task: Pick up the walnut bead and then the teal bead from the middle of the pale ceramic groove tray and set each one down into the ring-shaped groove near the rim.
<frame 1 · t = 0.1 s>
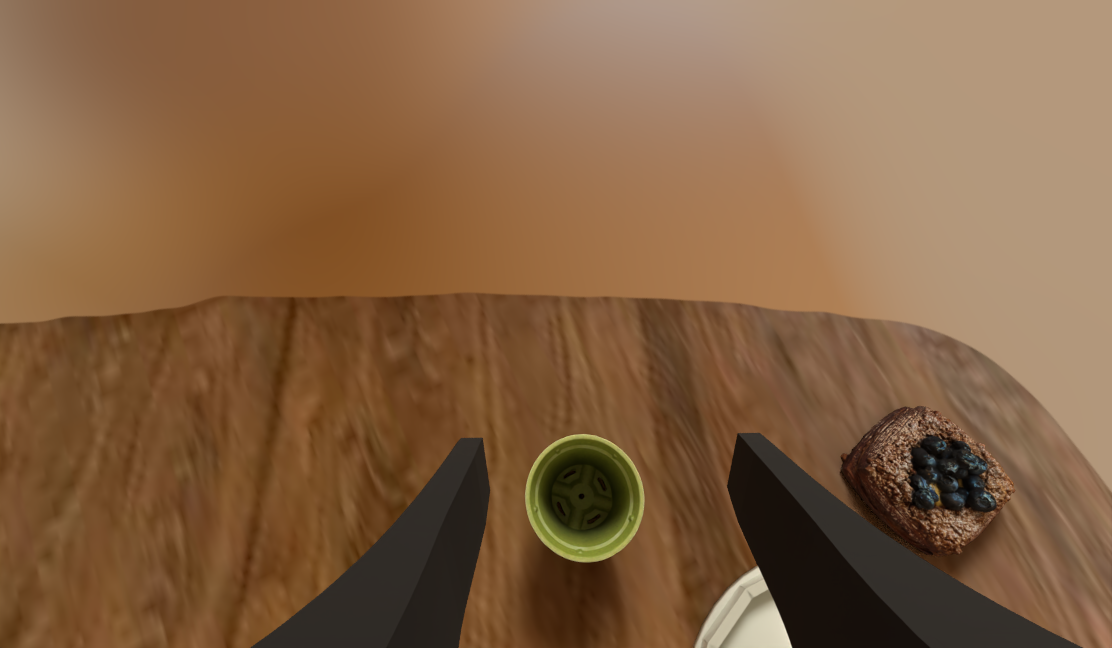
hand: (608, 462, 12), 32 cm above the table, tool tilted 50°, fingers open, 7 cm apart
pastry: (908, 476, 41), on the table
plant pot: (582, 495, 42), on the table
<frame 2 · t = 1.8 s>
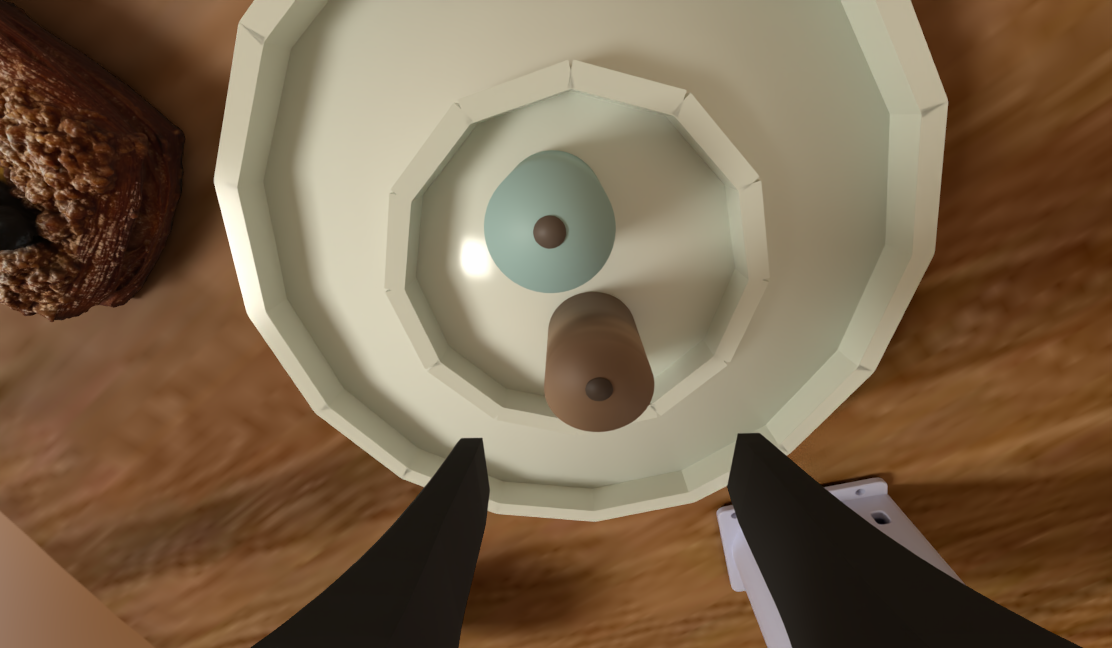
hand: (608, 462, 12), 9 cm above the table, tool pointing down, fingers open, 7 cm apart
pastry: (43, 148, 18), on the table
teal bead: (553, 204, 17), point 1 cm above the table, touching groove tray
walnut bead: (591, 332, 19), point 1 cm above the table, touching groove tray
groove tray: (573, 265, 19), on the table
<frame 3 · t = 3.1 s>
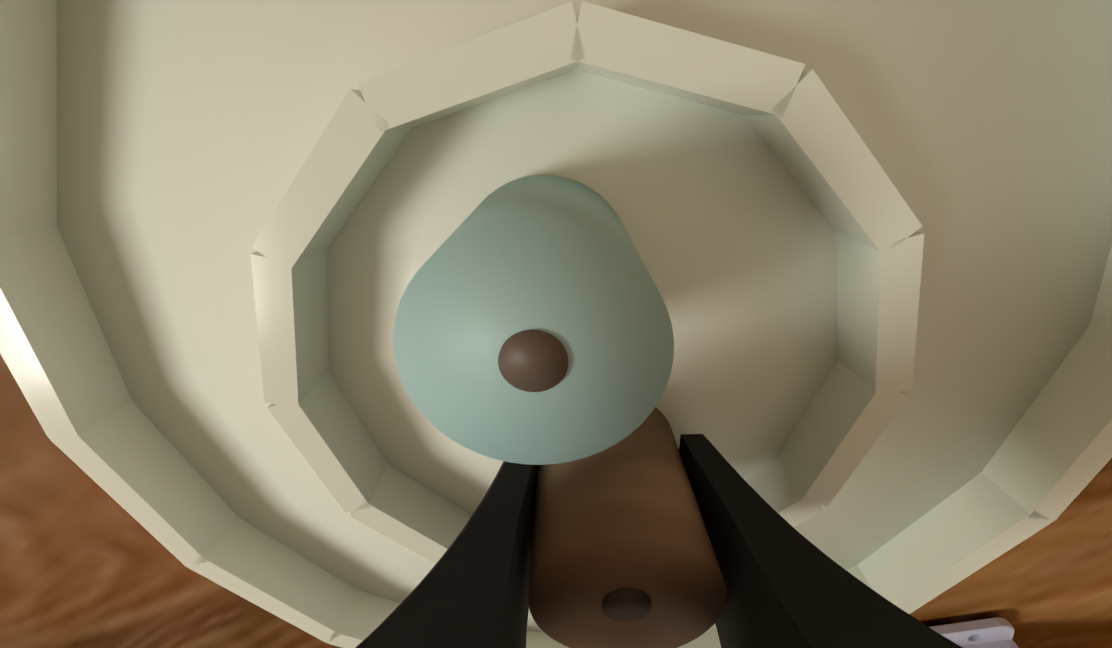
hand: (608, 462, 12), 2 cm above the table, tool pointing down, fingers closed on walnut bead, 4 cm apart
teal bead: (545, 262, 10), point 1 cm above the table, touching groove tray
walnut bead: (606, 447, 13), point 1 cm above the table, touching gripper, groove tray
groove tray: (577, 347, 12), on the table
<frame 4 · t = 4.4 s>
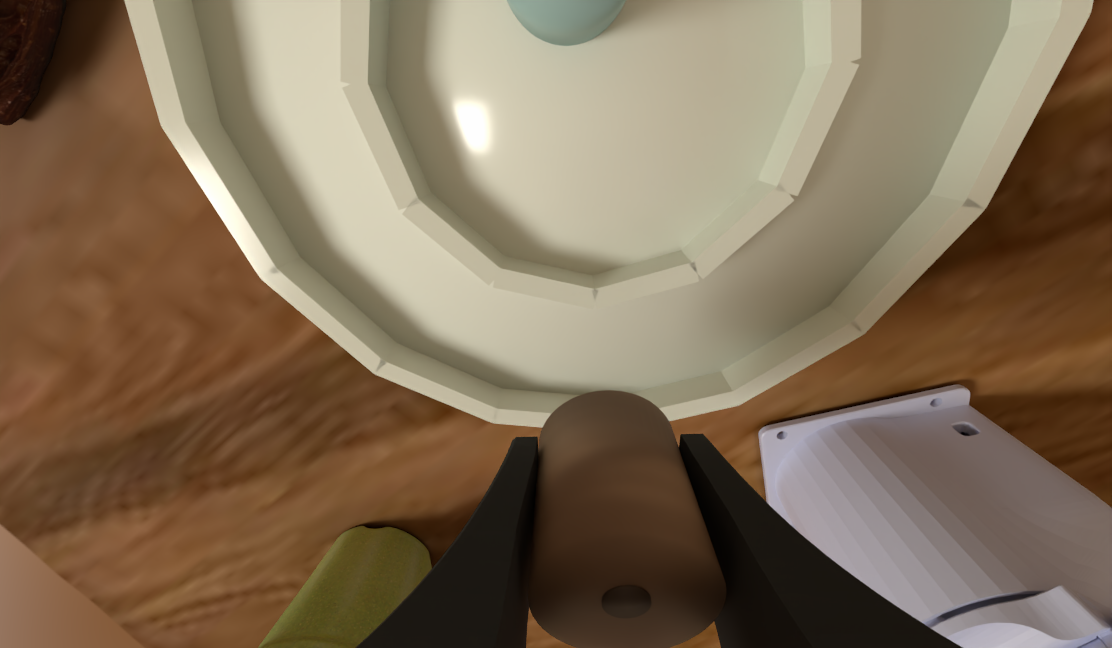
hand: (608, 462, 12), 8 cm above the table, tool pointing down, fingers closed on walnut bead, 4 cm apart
walnut bead: (605, 445, 13), point 7 cm above the table, touching gripper
plant pot: (384, 552, 26), on the table
groove tray: (590, 79, 15), on the table
when the fingers open (3 cm above the table, at t = 5.7 s): walnut bead drops 1 cm, resting on groove tray.
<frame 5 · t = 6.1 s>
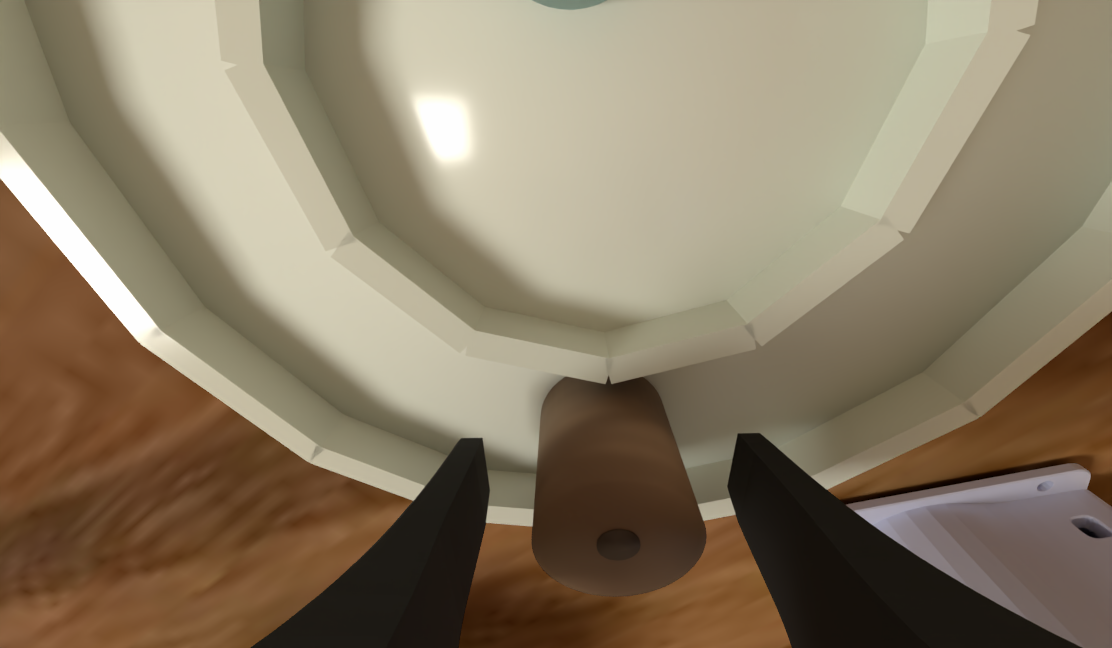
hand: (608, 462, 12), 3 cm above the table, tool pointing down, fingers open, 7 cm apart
walnut bead: (601, 418, 14), point 1 cm above the table, touching groove tray
groove tray: (604, 62, 10), on the table
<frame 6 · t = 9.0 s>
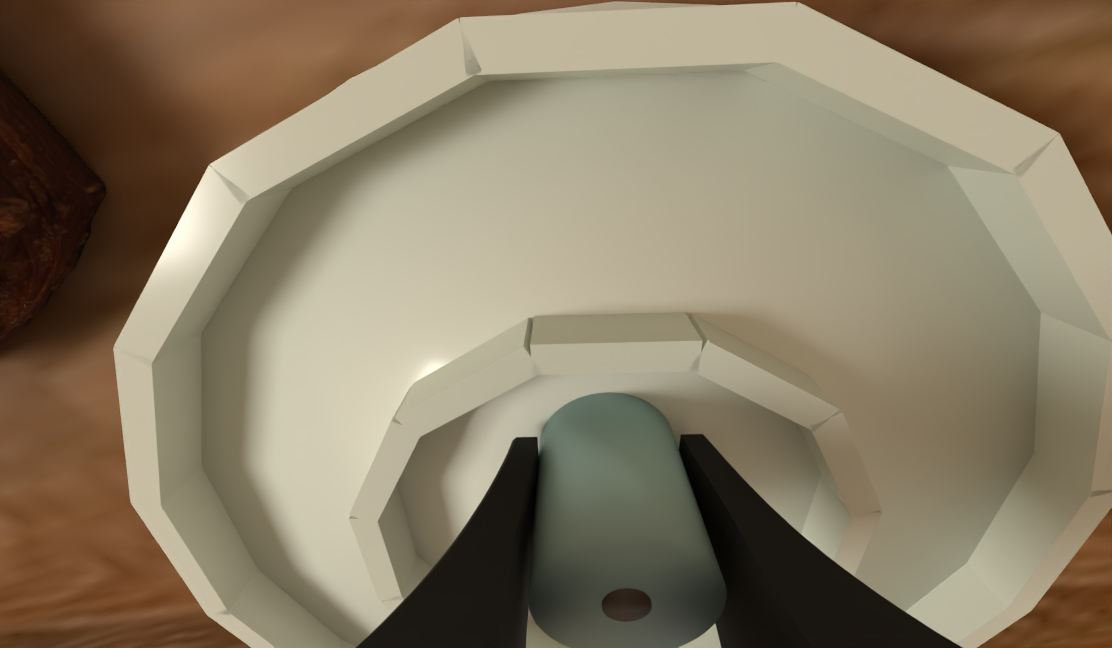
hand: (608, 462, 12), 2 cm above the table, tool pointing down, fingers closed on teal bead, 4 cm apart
teal bead: (606, 447, 13), point 1 cm above the table, touching gripper, groove tray
groove tray: (602, 492, 15), on the table
when the fingers open (3 cm above the table, at t = 11.7 s): teal bead drops 1 cm, resting on groove tray.
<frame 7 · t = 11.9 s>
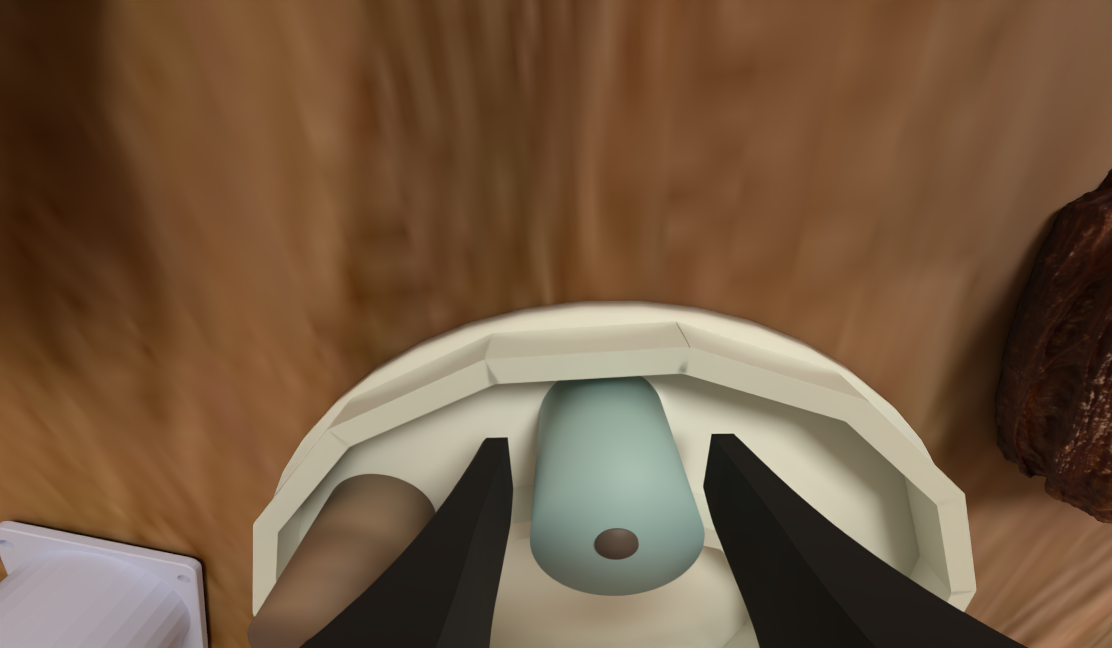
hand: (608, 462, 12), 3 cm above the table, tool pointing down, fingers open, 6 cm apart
teal bead: (600, 417, 14), point 1 cm above the table, touching groove tray
walnut bead: (382, 512, 16), point 1 cm above the table, touching groove tray
groove tray: (597, 580, 19), on the table
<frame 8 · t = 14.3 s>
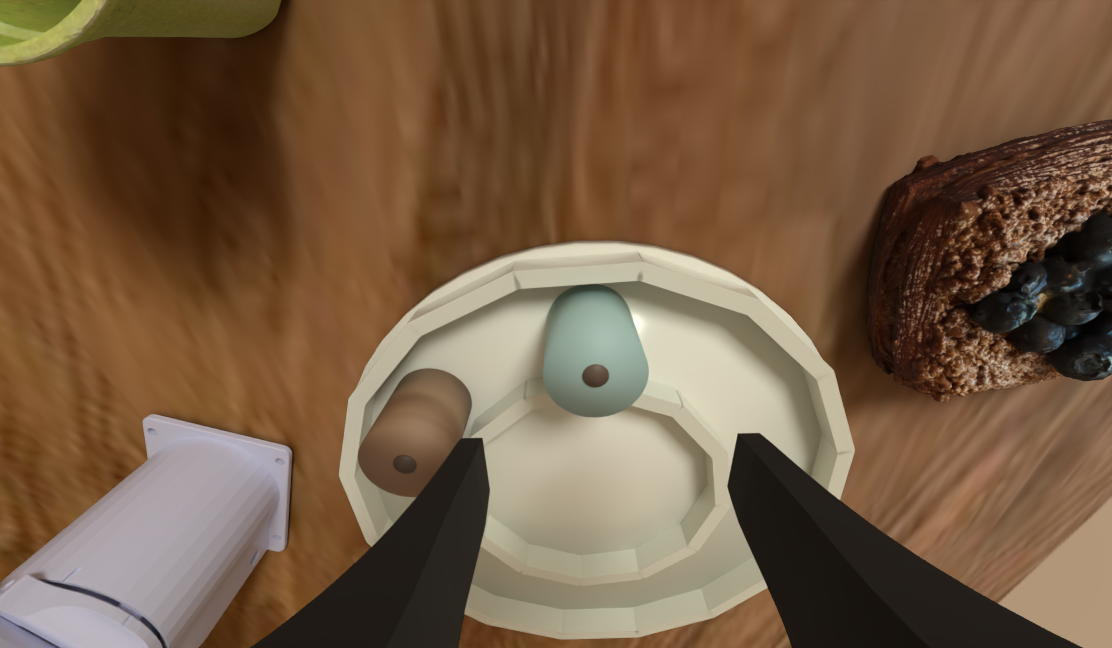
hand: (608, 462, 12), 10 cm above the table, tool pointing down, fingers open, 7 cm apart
pastry: (985, 254, 20), on the table
teal bead: (589, 323, 20), point 1 cm above the table, touching groove tray
walnut bead: (433, 400, 22), point 1 cm above the table, touching groove tray
groove tray: (588, 465, 25), on the table
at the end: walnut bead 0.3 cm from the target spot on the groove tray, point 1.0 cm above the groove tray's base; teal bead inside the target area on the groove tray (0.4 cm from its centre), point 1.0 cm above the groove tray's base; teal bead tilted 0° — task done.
